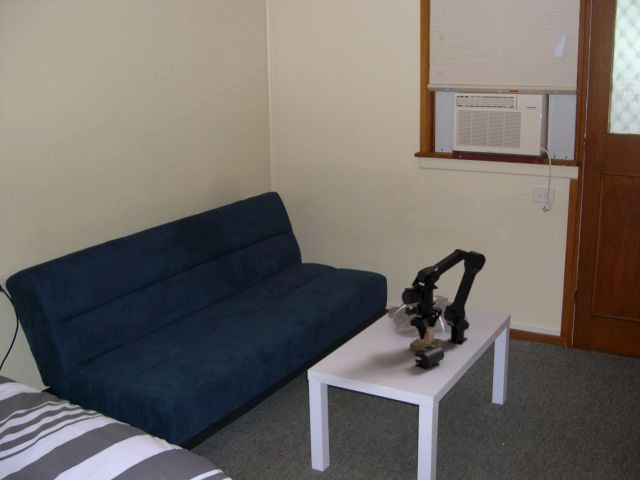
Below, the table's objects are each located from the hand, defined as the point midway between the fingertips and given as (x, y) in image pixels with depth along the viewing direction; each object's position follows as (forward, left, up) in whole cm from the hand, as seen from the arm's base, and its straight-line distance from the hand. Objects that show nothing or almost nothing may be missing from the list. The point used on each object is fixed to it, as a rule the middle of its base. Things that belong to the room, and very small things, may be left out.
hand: (426, 336), depth 315 cm
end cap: (+14, +8, -6) cm, 17 cm away
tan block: (0, 0, -6) cm, 6 cm away
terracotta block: (0, 0, -2) cm, 2 cm away
